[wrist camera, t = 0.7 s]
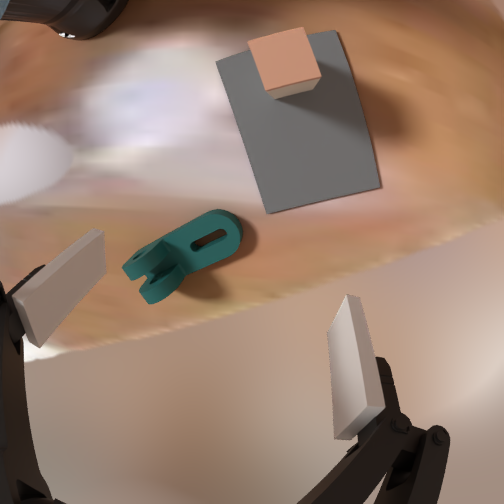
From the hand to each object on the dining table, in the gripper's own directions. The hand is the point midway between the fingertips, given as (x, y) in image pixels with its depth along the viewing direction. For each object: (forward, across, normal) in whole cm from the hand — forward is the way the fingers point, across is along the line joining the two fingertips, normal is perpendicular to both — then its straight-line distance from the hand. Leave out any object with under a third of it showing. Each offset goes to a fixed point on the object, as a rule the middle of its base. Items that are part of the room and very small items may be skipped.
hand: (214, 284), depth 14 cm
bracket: (+26, -8, -14) cm, 31 cm away
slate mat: (+26, +3, +8) cm, 28 cm away
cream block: (+26, 0, +13) cm, 29 cm away
